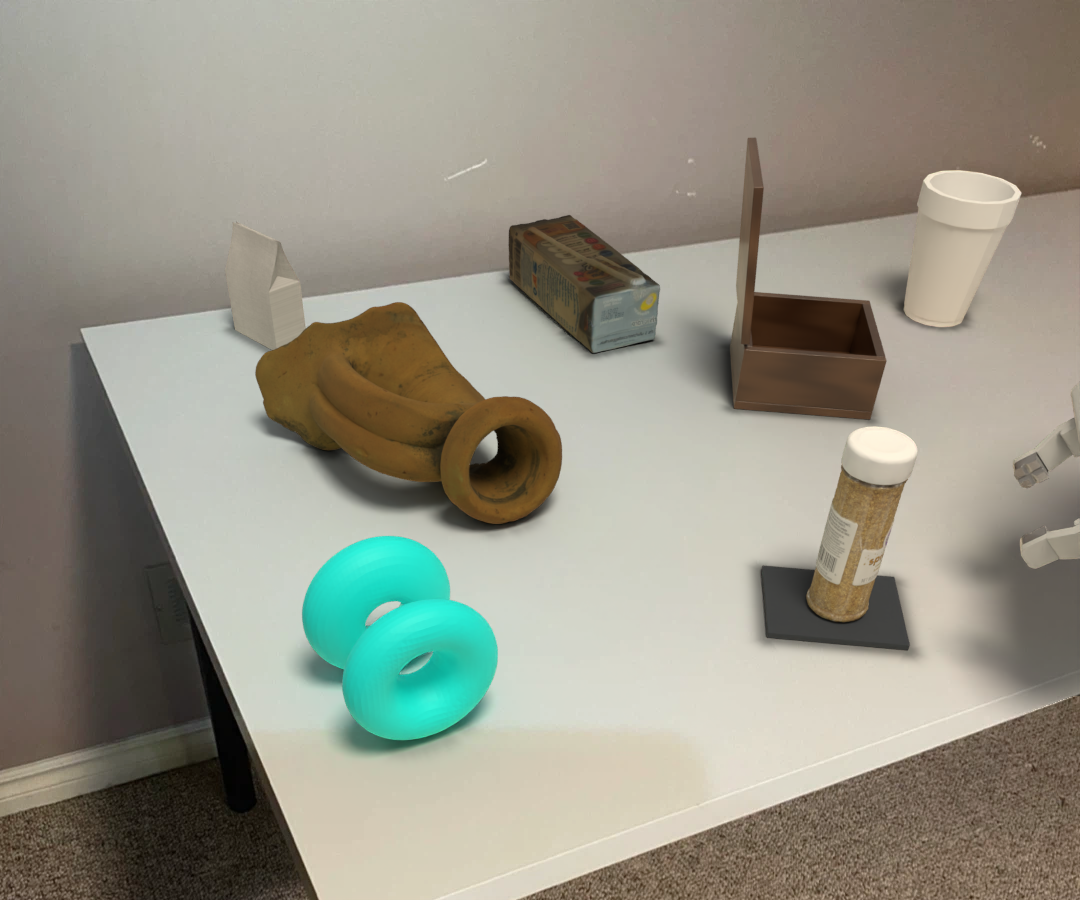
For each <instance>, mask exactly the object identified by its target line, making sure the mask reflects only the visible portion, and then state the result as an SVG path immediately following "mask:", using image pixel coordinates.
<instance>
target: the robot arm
mask: <svg viewBox="0 0 1080 900" xmlns="http://www.w3.org/2000/svg"><path fill="white" fill-rule="evenodd" d="M1070 399H1071V406H1072V411H1073V416H1074V417H1072V418H1070V419H1069V420H1067V421H1065V422H1063V423H1060V424H1059V425H1058V426H1056V427H1055V428H1054V429H1053V430H1052V431H1051V432H1050V433H1049V434H1048V435H1047V436H1046V437H1045V438H1044V439H1043V440H1042V441H1040V442H1039V444H1037V446H1035V448H1033V449H1031V450H1029V451H1027V452H1026V453H1023V454H1021V455H1019V456H1017V457H1016V458H1015V459H1013V462H1012V469H1013V470H1012V471H1013V476H1014V478H1015V480H1016V481H1017V482H1018V485H1019V486H1020V487H1021V488H1023V489H1030V488H1032V487H1035V485H1036V484H1040V483H1042V482H1045V481H1046V480H1048V479H1049V480H1050V472H1051V471H1052V470H1054V469H1055V468H1057V467H1058V466H1059V465H1061V464H1063V463H1064V462H1065V461H1066V460H1068V459H1069V458H1071V457H1072V456H1073V457H1074V458H1076V459H1077V458H1079V457H1080V381H1079V382H1077V383H1076V385H1074V386H1073V388H1072V389H1071V390H1070ZM1019 549H1020V557H1021V558H1022V559H1023V561H1024V562H1025V564H1026V565H1027V566H1028V568H1030V569H1034V570H1035V569H1036V570H1037V569H1039V568H1042V567H1044V566H1046V565H1049V564H1051V563H1054V562H1056V561H1058V560H1080V517H1079V518H1077V519H1074V521H1073V526H1070V527H1064V528H1061V529H1054V530H1050V531H1049V529H1048V528H1047V526H1046V525H1043V526H1040V527H1038V528H1036V529H1034V530H1033V531H1031V532H1030V533H1029V532H1027V533H1025V534H1024V535H1022V536H1021V537H1020V539H1019Z"/></svg>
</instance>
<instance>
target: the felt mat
mask: <svg viewBox="0 0 1080 900" xmlns="http://www.w3.org/2000/svg"><path fill="white" fill-rule="evenodd" d="M760 570H761V571H760V573H761V585H762V596H763V597H762V598H763V607H764V608H763V609H764V620H765V632H766V638H768V639H778V640H790V641H800V642H801V641H802V642H813V643H823V644H834V645H844V646H855V647H856V646H858V647H866V648H879V649H889V650H890V649H891V650H901V651H908V650H909V649H910V646H911V644H910V639H909V636H908V631H907V626H906V622H905V617H904V614H903V609H902V605H901V600H900V596H899V591H898V587H897V584H896V578H895V576H890V575H879V574H878V575H877V577H876V578H875V582H874V585H873V588H872V591H871V594H870V598H869V605H868V610H867V611H866V613H865V614H864V615H863V616H862V617H861V618H860V619H857V620H855V621H849V622H835V621H832V620H828V619H825V618H823V617H821V616H819V615H818V614H816V613H815V612H814V611H813V610H812V609H811V608H810V607H809V605H808V603H807V599H806V595H807V592H808V589H809V588H810V587H811V584H812V581H813V577H814V572H815V569H808V568H797V567H785V566H774V565H764V564H763V565H762V566H761V569H760Z"/></svg>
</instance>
